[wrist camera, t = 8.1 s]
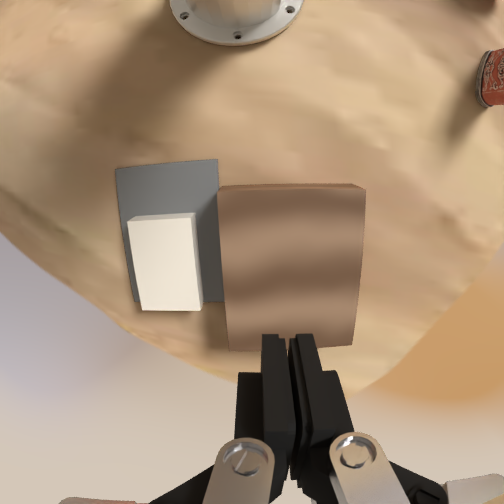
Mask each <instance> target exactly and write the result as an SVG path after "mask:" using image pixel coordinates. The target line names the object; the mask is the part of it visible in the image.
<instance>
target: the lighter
mask: <svg viewBox="0 0 504 504" xmlns="http://www.w3.org/2000/svg"><path fill="white" fill-rule="evenodd" d="M475 93H476V98H477V100H478V102H479V103H480V104H481V105H482V106H483V107H493V106H494V105H504V48H503V49H499V50H496V51H494V50H490V51H486V52H485V54H484V56H483V58H482V60H481V63H480V66H479V69H478V75H477V80H476V91H475Z"/></svg>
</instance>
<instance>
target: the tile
mask: <svg viewBox="0 0 504 504" xmlns="http://www.w3.org/2000/svg"><path fill="white" fill-rule="evenodd" d="M127 224H128V231H129V238H130V245H131V251H132V258H133V264H134V270H135V275H136V281H137V286H138V291H139V296H140V301H141V306H142V310H159V311H201V308H202V305H203V302H204V296H203V287H202V278H201V268H200V258H199V248H198V237H197V225H196V213H178V214H162V215H146V216H135V217H134V218H132V219H131V220H129V221H127Z"/></svg>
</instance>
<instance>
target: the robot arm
mask: <svg viewBox="0 0 504 504" xmlns="http://www.w3.org/2000/svg"><path fill="white" fill-rule="evenodd" d="M303 1H304V0H170V7H171V10H172V13H173V15H174V17H175V18H176V20H177V21H178V23H179V24H180V25H181V26H182V27H183V28H184V29H185V30H186V31H187V32H189V33H190V34H191V35H193V36H195V37H197V38H199V39H201V40H203V41H206V42H210V43H213V44H218V45H226V46H242V45H248V44H254V43H258V42H261V41H264V40H267V39H269V38H271V37H273V36H275V35H278V34H279V33H281V32H282V31H283V30H285V29H286V28H287V27H289V26H290V24H291V23H292V22H293V21H294V20H295V19H296V17H297V16H298V14H299V12H300V10H301V7H302V5H303ZM288 11H290V12H292V13H288ZM186 17H188V18H187V19H185V20H184V18H186ZM237 36H240V37H241V39H235V38H236V37H237ZM236 403H237V404H236V418H235V434H234V440H232V441H230V442H228V443H226V444H225V445H224V446H223V447H222V448H221V449H220V451H219V453H218V455H217V458H216V461H215V464H214V465H212V466H211V467H209V468H208V469H206V470H204V471H203V472H201V473H200V474H198V475H197V476H195V477H193V478H192V479H190V480H188V481H187V482H185V483H183V484H182V485H180V486H178V487H176V488H175V489H173V490H171V491H169V492H168V493H166V494H164V495H162V496H160V497H158V498H157V499H155V500H153V501H151V502H150V503H144V504H270V503H271V502H272V501H274V500H275V499H276V498H277V497H278V496H279V495H281V493H282V488H283V484H284V480H286V479H287V474H288V469H289V465H290V476H291V480H297V485H298V488H302V490H303V493H304V494H305V495H307V496H308V497H310V498H311V502H312V504H504V477H503V476H502V475H499V474H489V475H485V476H479V477H473V478H468V479H461V480H454V481H447V482H446V483H445V484H441V485H439V484H438V483H436V482H434V481H432V480H429V479H427V478H425V477H423V476H420V475H418V474H416V473H413V472H412V471H409V470H407V469H405V468H403V467H401V466H399V465H397V464H395V463H393V462H391V461H388V459H387V457H386V455H385V453H384V451H383V450H382V448H381V446H380V444H379V443H378V442H377V440H376V439H374V438H373V437H372V436H370V435H367V434H365V433H360V432H354V428H353V425H352V421H351V418H350V414H349V411H348V407H347V404H346V400H345V397H344V393H343V390H342V387H341V383H340V380H339V377H338V374H337V372H336V371H335V370H331V371H322V367H321V363H320V359H319V355H318V351H317V347H316V343H315V340H314V336H313V334H312V333H305V334H296V335H295V338H290V339H289V348H288V357H287V349H286V342H285V338H279V334H262V348H261V373H254V372H239V373H238V386H237V402H236ZM59 504H143V503H136V502H135V501H113V500H99V499H88V498H79V497H69V498H66V499H64V500H62V501H61V502H60V503H59Z"/></svg>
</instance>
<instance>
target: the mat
mask: <svg viewBox="0 0 504 504" xmlns="http://www.w3.org/2000/svg"><path fill="white" fill-rule="evenodd" d="M115 173H116V184H117V194H118V203H119V211H120V219H121V226H122V233H123V240H124V246H125V253H126V259H127V264H128V270H129V275H130V281H131V286H132V291H133V296H134V301H135V302H141V301H140V296H139V291H138V286H137V281H136V275H135V270H134V264H133V258H132V251H131V245H130V238H129V231H128V224H127V221H129V220H131V219H132V218H134V217H135V216H146V215H162V214H178V213H196V225H197V237H198V248H199V258H200V268H201V278H202V287H203V296H204V302H225V299H224V287H223V274H222V261H221V247H220V233H219V218H218V203H217V192H218V190H219V178H218V159H212V160H198V161H185V162H174V163H163V164H154V165H145V166H136V167H128V168H120V169H115Z"/></svg>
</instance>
